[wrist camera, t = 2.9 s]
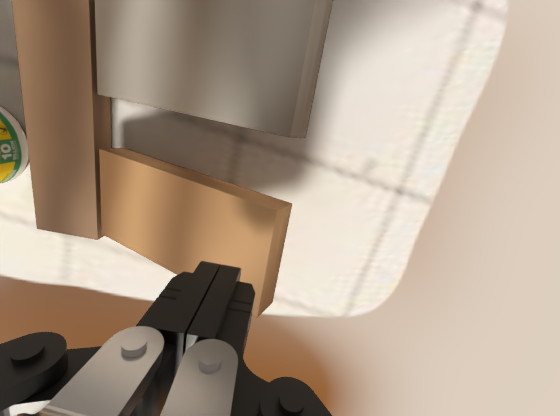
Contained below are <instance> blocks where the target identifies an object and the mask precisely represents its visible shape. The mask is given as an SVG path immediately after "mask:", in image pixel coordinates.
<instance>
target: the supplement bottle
mask: <svg viewBox="0 0 560 416" xmlns="http://www.w3.org/2000/svg"><path fill="white" fill-rule="evenodd" d="M27 162H28V143H27V139H26V136H25V133H24V131H23V130H22V128H21V126H20V124H19V123H18V122H17V121H16V119H15V118H14V117H13V116H12V115H11V114H10V113H9V112H7V111H6V110H5V109H3V108H2V107H1V106H0V183H4V182H8V181H11V180H13V179H15V178H16V177H18V176H19V175H20V174H21V173H22V172H23V171H24V169H25V167H26V165H27Z"/></svg>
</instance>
